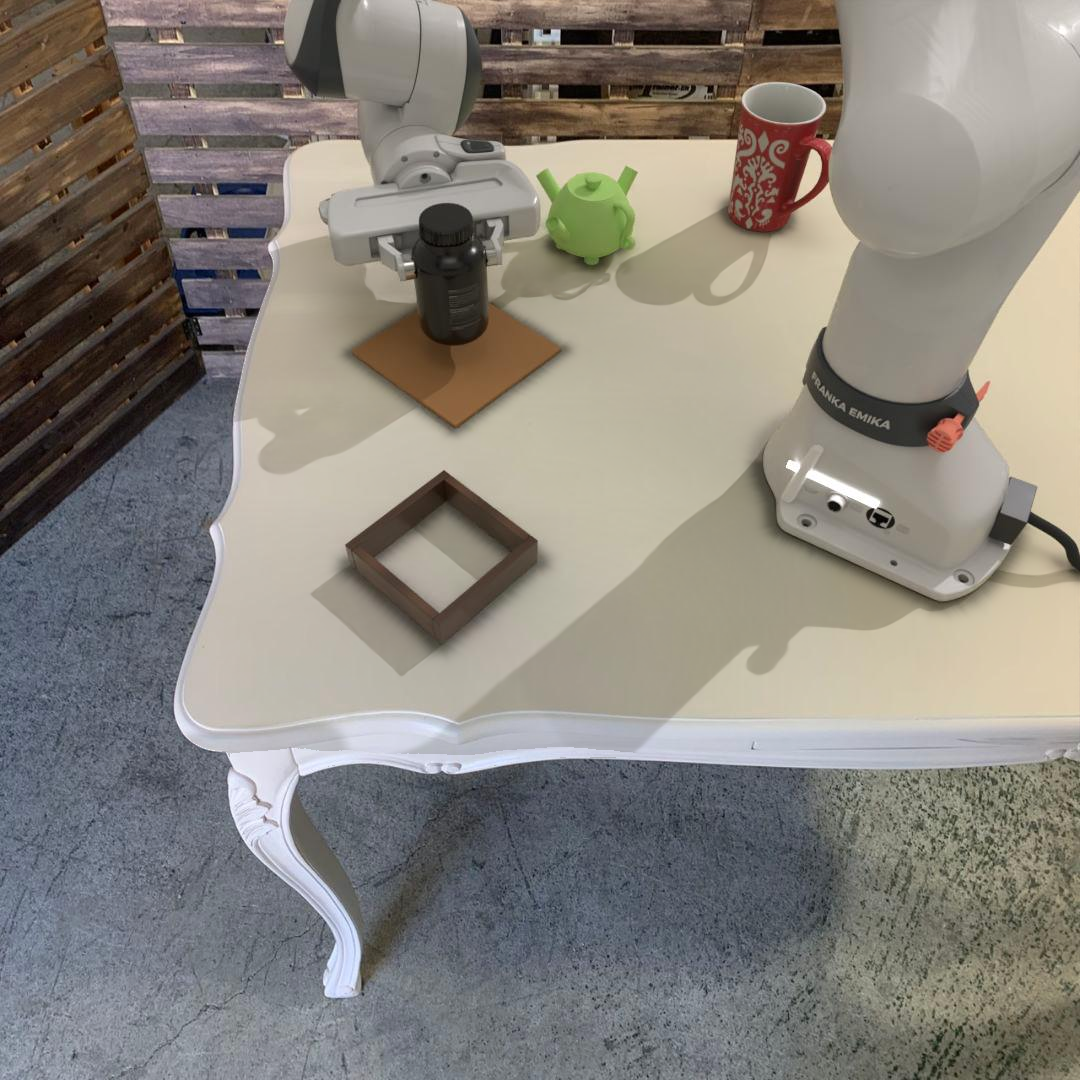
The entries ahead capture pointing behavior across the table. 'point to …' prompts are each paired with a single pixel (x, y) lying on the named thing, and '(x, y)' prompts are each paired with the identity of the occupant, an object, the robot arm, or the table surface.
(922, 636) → the table surface
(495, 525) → the frame
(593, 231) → the teapot
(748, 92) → the mug
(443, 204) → the supplement bottle
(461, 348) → the cork mat
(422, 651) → the table surface
